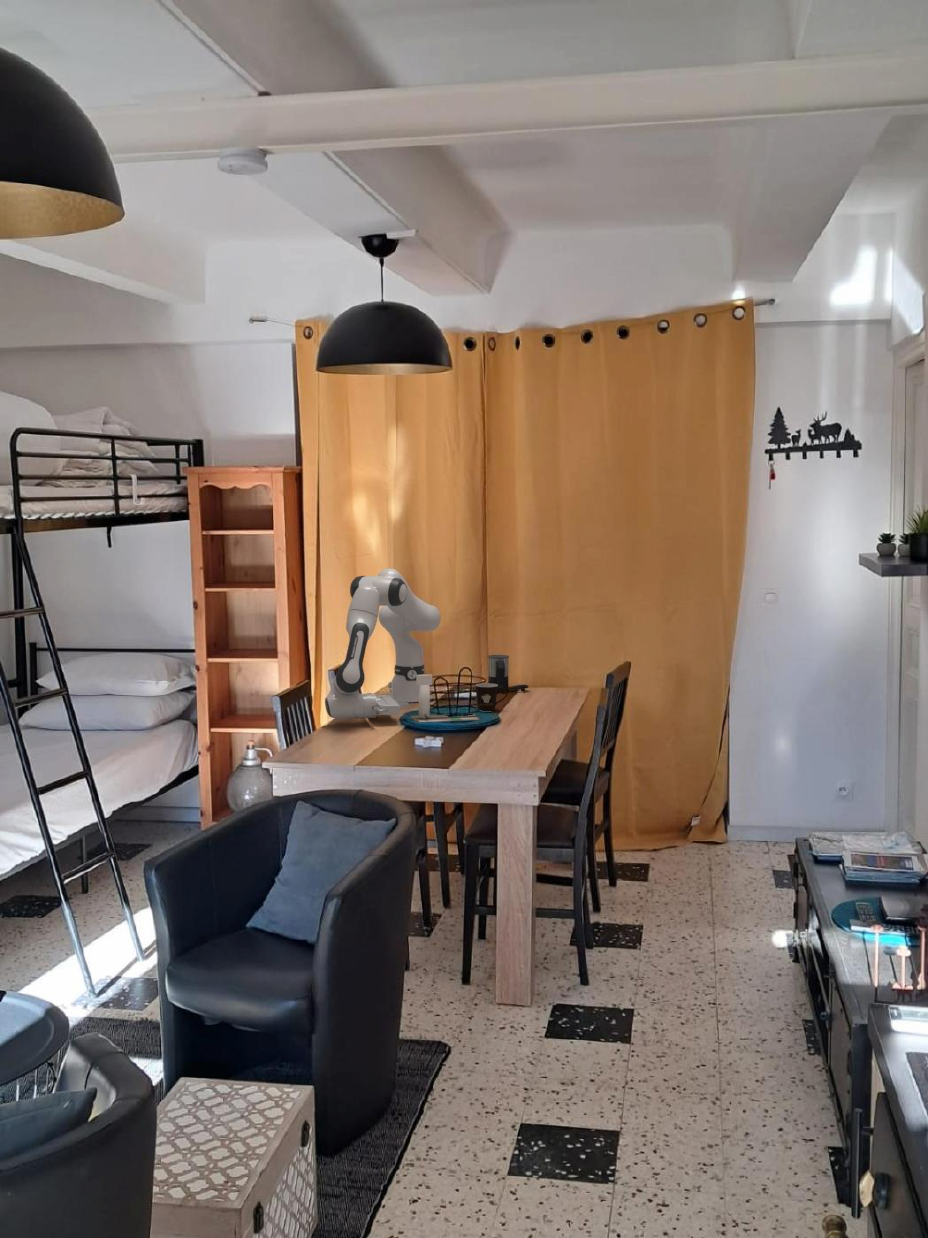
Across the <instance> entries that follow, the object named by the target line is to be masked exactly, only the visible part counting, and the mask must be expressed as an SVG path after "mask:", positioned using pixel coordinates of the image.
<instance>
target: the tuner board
mask: <svg viewBox="0 0 928 1238" xmlns="http://www.w3.org/2000/svg"><path fill="white" fill-rule="evenodd" d="M472 714H473V715H468V716H460V717H459V716H458V717H448V716H446V715H447V714H430V718H419V715H410V717H411V718H412V719H413V720H414V722H415V723H433V722H434V723H435V722H436V723H437V722H457V721H458V722H459V721H460V722H461V721H462V722H464V721H481V720H482V719H481V718H480V717H479V716H477V715H476V714H475V713H472Z"/></svg>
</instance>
